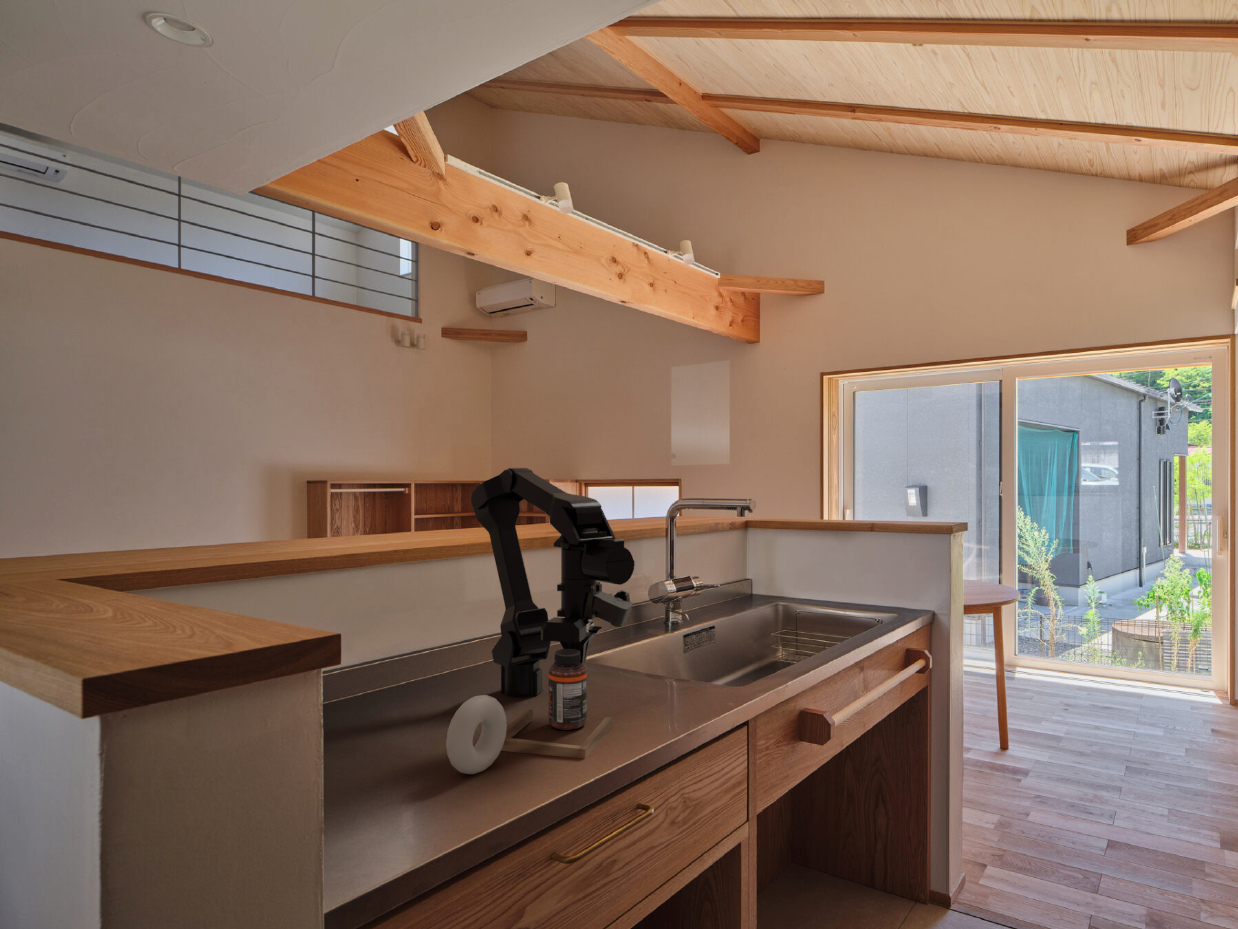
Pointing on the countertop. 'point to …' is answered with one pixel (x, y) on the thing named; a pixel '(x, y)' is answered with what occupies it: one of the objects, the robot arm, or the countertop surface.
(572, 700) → the supplement bottle
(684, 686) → the countertop surface
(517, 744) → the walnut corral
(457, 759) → the donut
